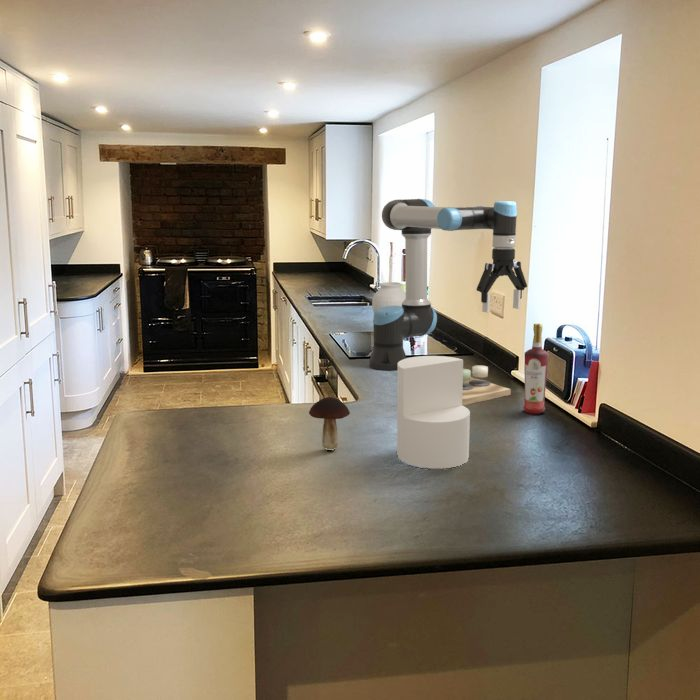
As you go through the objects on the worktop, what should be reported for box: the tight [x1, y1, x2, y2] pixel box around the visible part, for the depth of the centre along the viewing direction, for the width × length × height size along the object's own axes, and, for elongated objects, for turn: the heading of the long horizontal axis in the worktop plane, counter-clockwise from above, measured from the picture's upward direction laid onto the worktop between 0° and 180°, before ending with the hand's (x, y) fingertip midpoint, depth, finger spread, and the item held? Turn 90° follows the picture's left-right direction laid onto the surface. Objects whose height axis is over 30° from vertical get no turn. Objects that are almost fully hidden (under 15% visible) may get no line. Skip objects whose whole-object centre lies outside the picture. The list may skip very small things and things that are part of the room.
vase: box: [371, 281, 406, 314], centre depth 343 cm, size 18×18×25 cm
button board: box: [462, 376, 512, 406], centre depth 247 cm, size 22×24×3 cm
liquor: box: [522, 323, 550, 415], centre depth 222 cm, size 7×7×28 cm
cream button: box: [471, 364, 489, 379], centre depth 250 cm, size 5×5×3 cm
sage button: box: [463, 368, 472, 381], centre depth 245 cm, size 5×5×3 cm
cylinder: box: [396, 355, 471, 469], centre depth 186 cm, size 19×19×25 cm
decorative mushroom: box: [308, 396, 351, 449], centre depth 192 cm, size 11×11×15 cm
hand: (501, 310), depth 246 cm, fingers open, 13 cm apart
